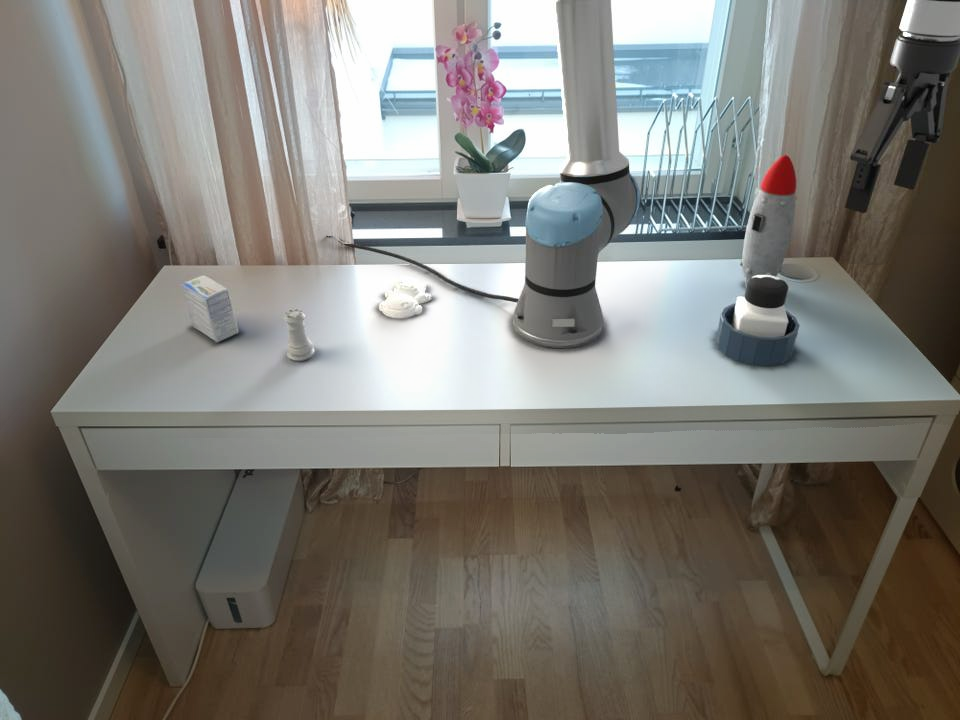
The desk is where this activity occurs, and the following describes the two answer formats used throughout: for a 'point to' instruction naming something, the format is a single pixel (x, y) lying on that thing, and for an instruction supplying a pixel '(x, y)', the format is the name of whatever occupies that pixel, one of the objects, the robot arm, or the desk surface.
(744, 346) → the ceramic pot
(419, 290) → the astronaut figurine
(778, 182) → the toy rocket
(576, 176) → the robot arm
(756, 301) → the medicine bottle
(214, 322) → the medicine box
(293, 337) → the rook chess piece
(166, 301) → the desk surface
